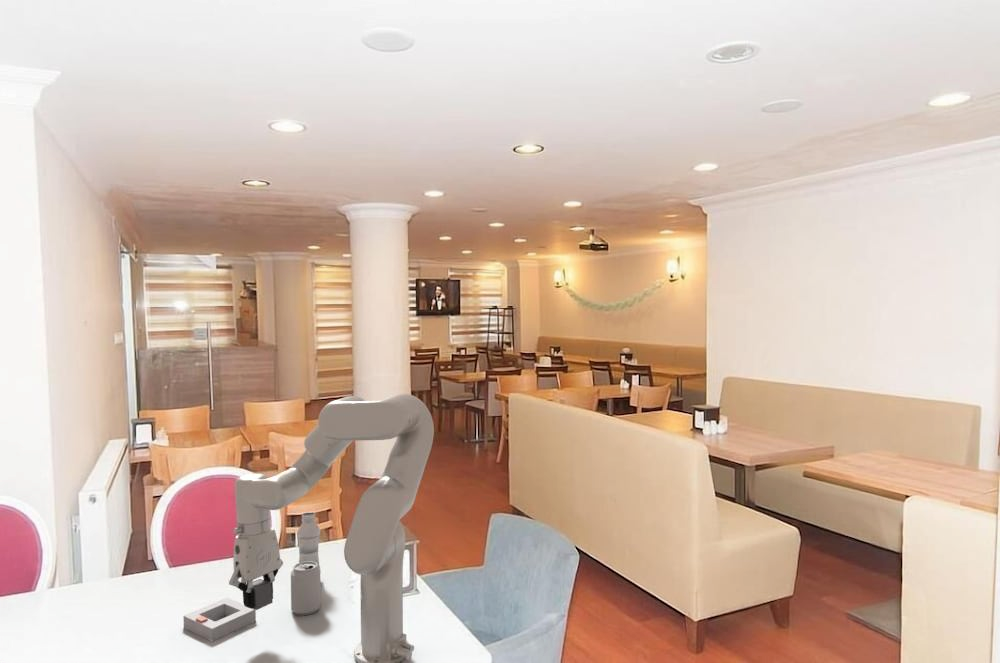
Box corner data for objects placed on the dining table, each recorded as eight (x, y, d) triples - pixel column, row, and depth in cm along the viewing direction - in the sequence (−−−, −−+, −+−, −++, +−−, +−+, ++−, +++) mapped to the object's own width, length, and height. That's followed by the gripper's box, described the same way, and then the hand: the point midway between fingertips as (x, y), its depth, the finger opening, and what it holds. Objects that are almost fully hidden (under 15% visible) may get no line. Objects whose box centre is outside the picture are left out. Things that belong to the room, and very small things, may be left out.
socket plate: (255, 620, 162) (255, 607, 162) (212, 641, 152) (211, 626, 152) (227, 608, 169) (227, 595, 169) (183, 627, 159) (183, 613, 159)
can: (312, 617, 164) (311, 571, 163) (285, 615, 165) (285, 569, 165) (325, 604, 171) (325, 560, 171) (300, 602, 173) (299, 558, 172)
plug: (272, 602, 153) (271, 581, 153) (256, 610, 149) (255, 588, 149) (261, 599, 156) (259, 578, 155) (245, 606, 152) (243, 585, 152)
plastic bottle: (292, 585, 183) (291, 516, 183) (306, 576, 190) (305, 509, 189) (312, 588, 181) (311, 518, 181) (325, 578, 188) (324, 511, 187)
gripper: (232, 540, 143) (237, 621, 143) (293, 518, 157) (297, 592, 157) (212, 535, 147) (217, 614, 147) (274, 514, 161) (278, 586, 162)
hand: (258, 601), depth 152 cm, fingers closed on plug, 4 cm apart
